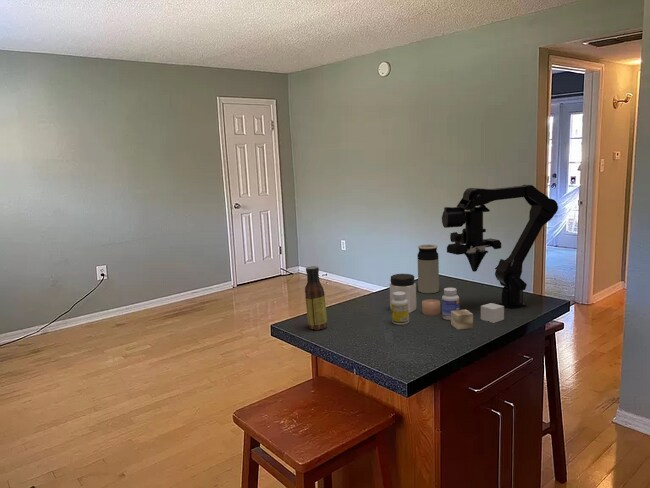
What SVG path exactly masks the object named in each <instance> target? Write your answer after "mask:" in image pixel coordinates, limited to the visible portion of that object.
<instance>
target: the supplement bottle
mask: <svg viewBox="0 0 650 488" xmlns="http://www.w3.org/2000/svg"><path fill="white" fill-rule="evenodd" d="M393 298H394V299H393V300H392V302H391V305H392V310H391V321H392V323H393V324H395V325H400V326H401V325H407V324H409V322H410V315H409V314H410V313H409V307H408V300H407V299H405V298H406V293H405V292H394V293H393Z"/></svg>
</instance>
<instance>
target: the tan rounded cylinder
mask: <svg viewBox="0 0 650 488" xmlns="http://www.w3.org/2000/svg"><path fill="white" fill-rule="evenodd" d="M421 307H422V308H421V310H422V311H421V313H422V314H423V315H424V316H431V317H433V316H438V315H440V314H441V301H440V300H439V299H435V298H430V299H429V298H426V299H423V300H422V301H421Z"/></svg>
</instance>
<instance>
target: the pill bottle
mask: <svg viewBox="0 0 650 488" xmlns="http://www.w3.org/2000/svg"><path fill="white" fill-rule="evenodd" d="M457 292H458V290H457V288H455V287H445V288H443V293H444V294H443V295H442V296H441V305H442V306H441V307H442V310H441V311H442V312H441V313H442V319H443V320H446V321H451V311H455V310H460V297H459V295H458V294H457Z"/></svg>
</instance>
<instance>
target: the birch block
mask: <svg viewBox="0 0 650 488" xmlns="http://www.w3.org/2000/svg"><path fill="white" fill-rule="evenodd" d="M450 324H451V326H452V327H454V328H455V329H456V330H466V329H473V328H474V314H473V313H472V312H470V310H467V309H459V310H455V311H451V320H450Z"/></svg>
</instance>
